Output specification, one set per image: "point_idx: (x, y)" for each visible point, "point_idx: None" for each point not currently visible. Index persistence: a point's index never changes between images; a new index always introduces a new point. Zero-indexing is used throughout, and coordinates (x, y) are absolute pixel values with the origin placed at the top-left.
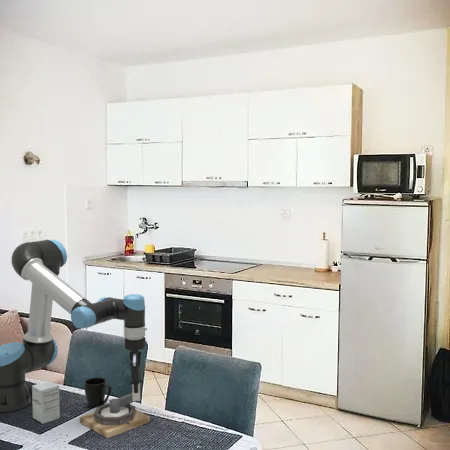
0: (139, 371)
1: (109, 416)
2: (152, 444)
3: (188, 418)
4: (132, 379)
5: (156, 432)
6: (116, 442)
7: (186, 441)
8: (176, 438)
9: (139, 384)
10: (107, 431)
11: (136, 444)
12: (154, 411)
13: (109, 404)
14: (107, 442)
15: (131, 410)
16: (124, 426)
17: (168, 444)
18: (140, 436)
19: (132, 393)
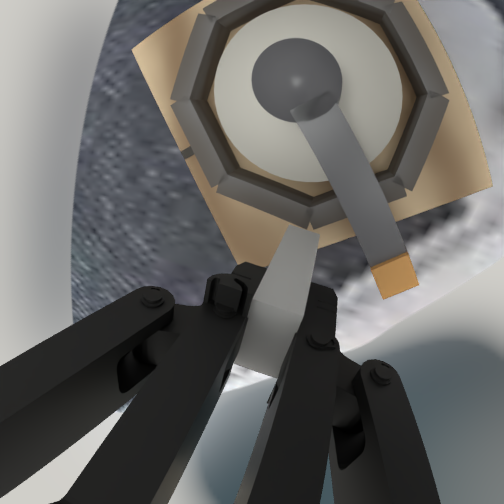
0: (332, 478)
1: (236, 49)
2: (77, 217)
3: (234, 384)
4: (90, 324)
5: (148, 255)
6: (108, 91)
7: (89, 311)
8: (104, 296)
9: (237, 356)
10: (141, 48)
11: (82, 164)
12: (358, 312)
13: (420, 77)
14: (117, 56)
15: (258, 192)
16: (169, 128)
17: (75, 262)
18: (129, 188)
19: (276, 250)
